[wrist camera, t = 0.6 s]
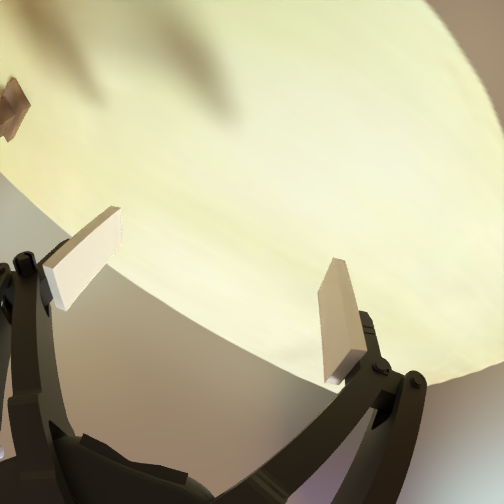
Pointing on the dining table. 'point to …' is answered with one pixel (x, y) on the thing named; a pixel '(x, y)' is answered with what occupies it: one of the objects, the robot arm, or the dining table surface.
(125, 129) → the dining table surface
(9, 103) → the wooden t-shaped stand
